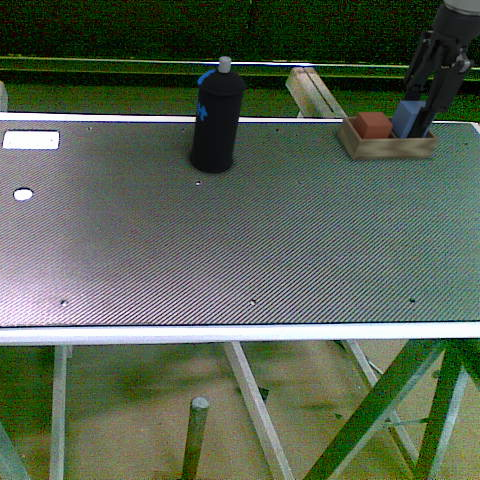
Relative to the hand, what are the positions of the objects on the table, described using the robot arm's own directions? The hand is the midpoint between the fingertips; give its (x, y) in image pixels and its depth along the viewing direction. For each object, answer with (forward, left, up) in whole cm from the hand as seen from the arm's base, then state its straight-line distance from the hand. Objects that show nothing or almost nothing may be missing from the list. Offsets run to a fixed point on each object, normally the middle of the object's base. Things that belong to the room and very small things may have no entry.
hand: (407, 130), depth 94 cm
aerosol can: (+40, +4, -4) cm, 40 cm away
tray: (+4, 0, -4) cm, 5 cm away
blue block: (0, 0, 0) cm, 0 cm away
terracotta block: (+8, 0, -3) cm, 8 cm away
